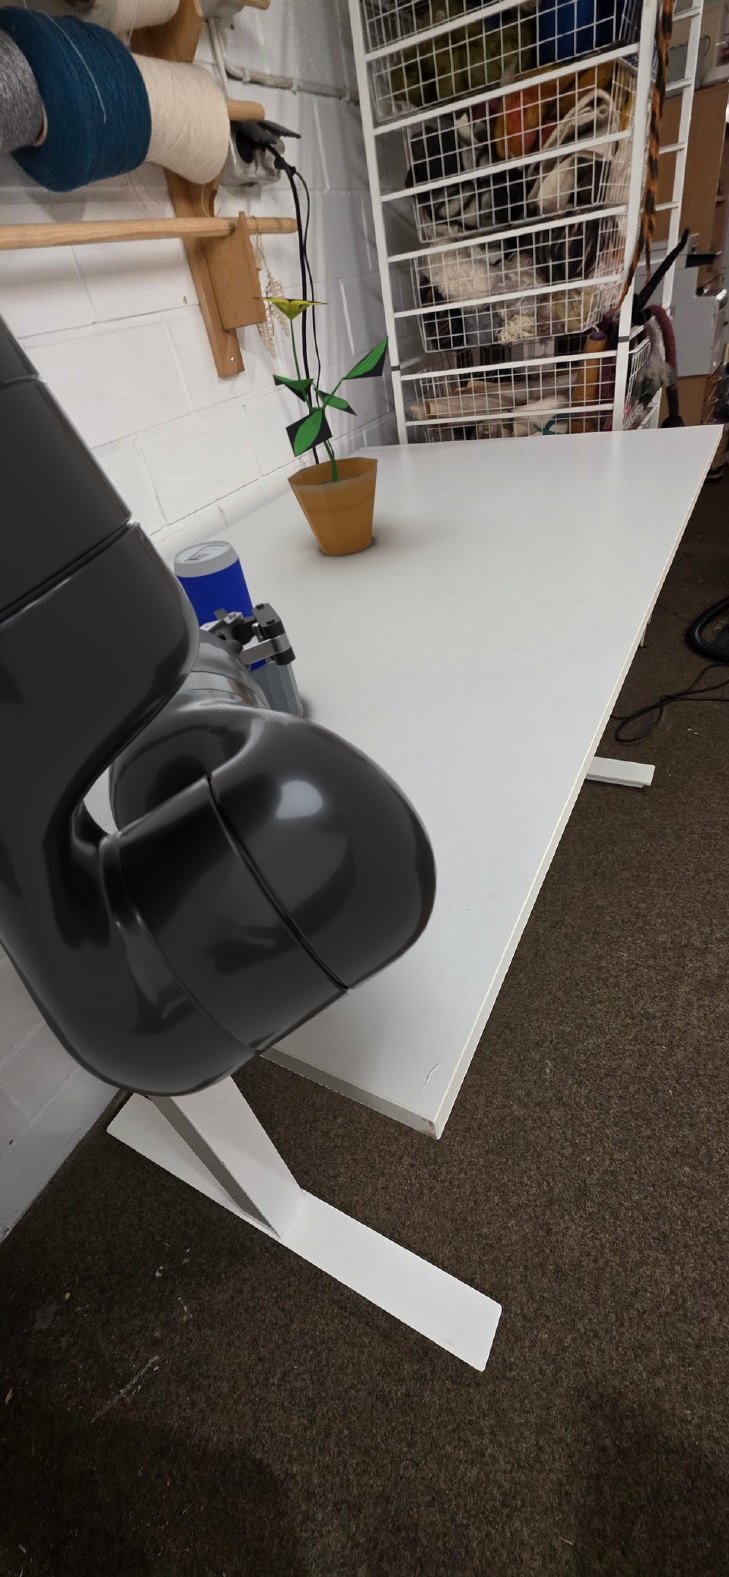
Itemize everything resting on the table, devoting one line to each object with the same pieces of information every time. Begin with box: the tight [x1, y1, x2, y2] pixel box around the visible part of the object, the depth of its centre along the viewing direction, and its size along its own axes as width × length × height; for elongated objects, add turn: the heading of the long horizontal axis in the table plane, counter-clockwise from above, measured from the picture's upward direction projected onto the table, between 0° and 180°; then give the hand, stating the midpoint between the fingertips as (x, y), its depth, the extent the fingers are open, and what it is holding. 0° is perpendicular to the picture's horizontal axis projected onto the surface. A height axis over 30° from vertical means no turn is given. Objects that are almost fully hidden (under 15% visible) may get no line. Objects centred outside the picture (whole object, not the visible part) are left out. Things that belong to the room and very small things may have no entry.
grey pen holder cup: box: [250, 661, 304, 718], centre depth 60 cm, size 9×9×7 cm
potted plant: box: [253, 296, 390, 556], centre depth 87 cm, size 18×19×30 cm
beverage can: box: [173, 540, 267, 671], centre depth 57 cm, size 5×5×15 cm
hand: (166, 647), depth 46 cm, fingers open, 8 cm apart
